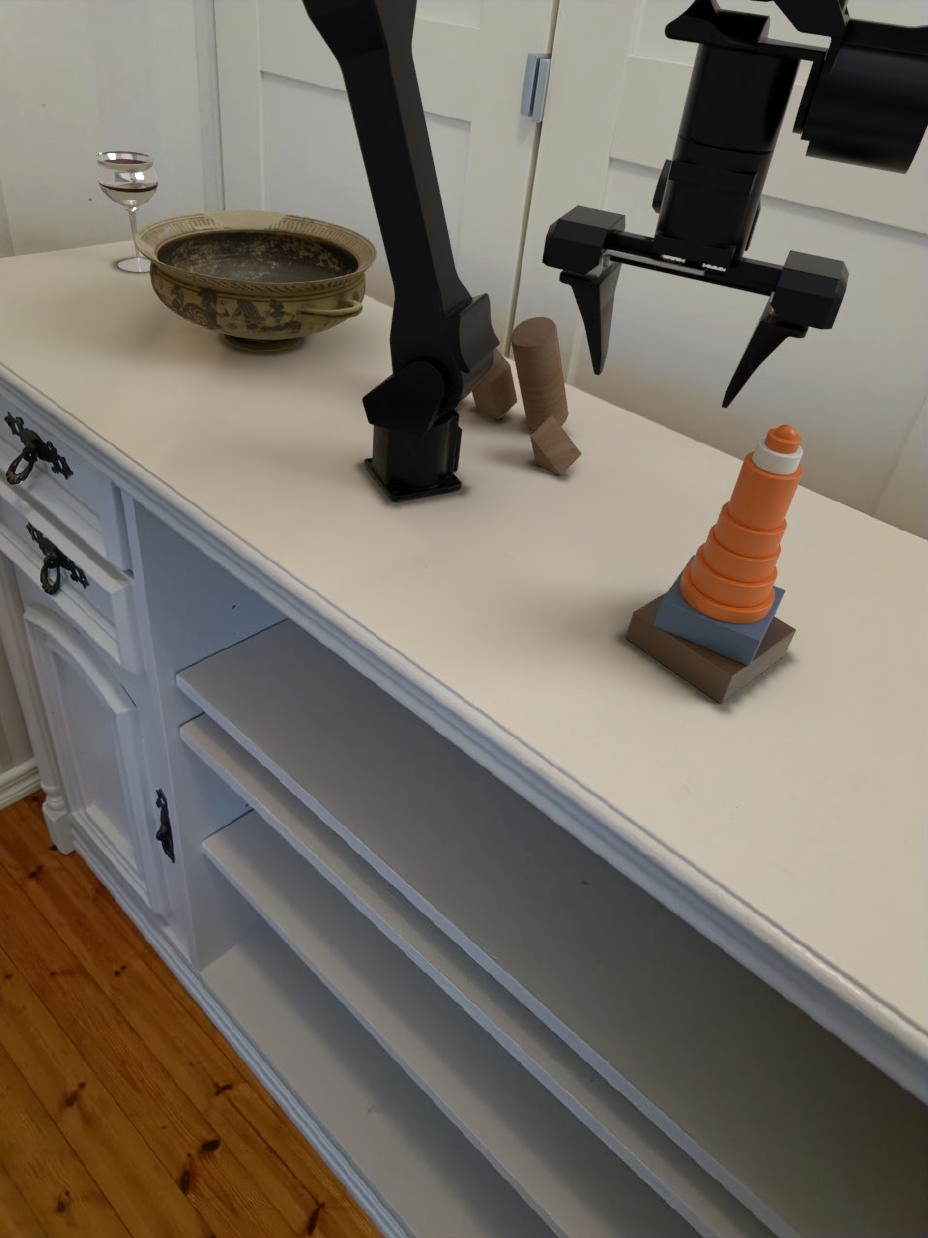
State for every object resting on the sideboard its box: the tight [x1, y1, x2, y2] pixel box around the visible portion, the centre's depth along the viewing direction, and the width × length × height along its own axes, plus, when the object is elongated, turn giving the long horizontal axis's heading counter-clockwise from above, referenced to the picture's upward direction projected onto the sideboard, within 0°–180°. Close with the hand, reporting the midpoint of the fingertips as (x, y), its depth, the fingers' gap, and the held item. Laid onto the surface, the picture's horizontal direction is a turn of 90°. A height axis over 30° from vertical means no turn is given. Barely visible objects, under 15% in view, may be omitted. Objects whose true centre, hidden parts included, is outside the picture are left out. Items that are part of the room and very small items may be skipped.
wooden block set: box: [471, 316, 582, 476], centre depth 78 cm, size 18×9×10 cm, turn 47°
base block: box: [625, 591, 797, 704], centre depth 58 cm, size 8×8×2 cm
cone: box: [680, 423, 804, 624], centre depth 52 cm, size 6×6×12 cm
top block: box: [654, 554, 786, 666], centre depth 57 cm, size 7×7×2 cm
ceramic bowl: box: [135, 209, 378, 352], centre depth 89 cm, size 30×24×10 cm
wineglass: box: [93, 150, 159, 273], centre depth 102 cm, size 7×7×12 cm
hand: (660, 389), depth 60 cm, fingers open, 9 cm apart
